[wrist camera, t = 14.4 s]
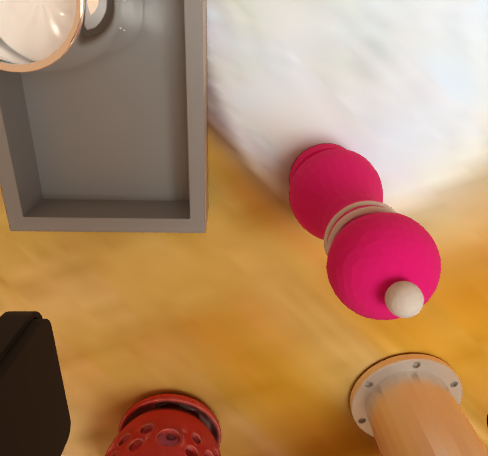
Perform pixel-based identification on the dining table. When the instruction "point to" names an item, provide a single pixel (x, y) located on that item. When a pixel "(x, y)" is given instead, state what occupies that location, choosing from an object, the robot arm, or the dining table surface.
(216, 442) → the plant pot
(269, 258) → the dining table surface
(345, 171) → the pepper mill
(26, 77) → the tote
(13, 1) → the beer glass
